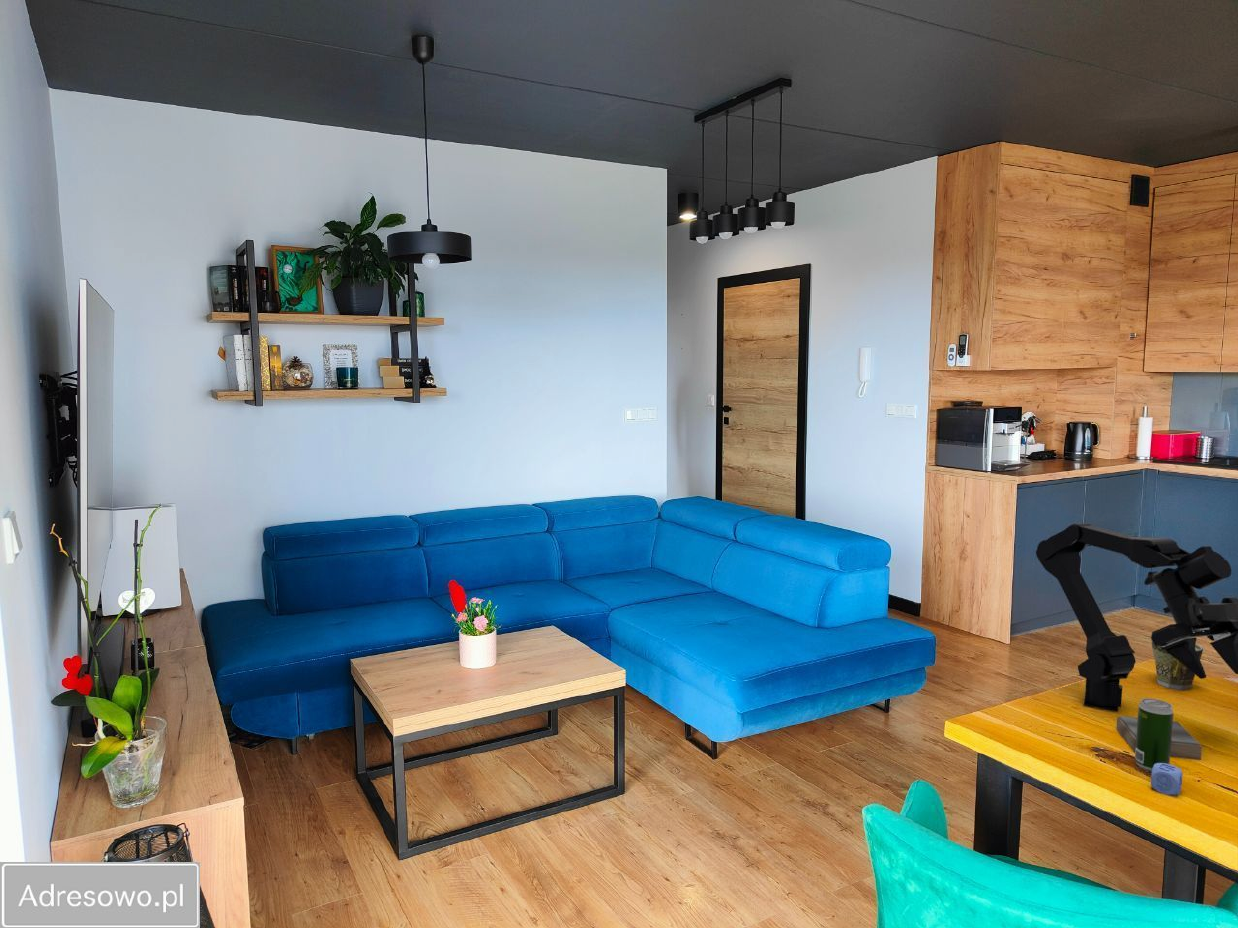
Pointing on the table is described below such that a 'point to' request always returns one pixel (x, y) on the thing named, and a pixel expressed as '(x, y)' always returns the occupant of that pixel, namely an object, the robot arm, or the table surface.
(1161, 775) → the decorative dice
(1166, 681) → the ceramic cup
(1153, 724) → the beer can
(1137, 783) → the table surface
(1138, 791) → the table surface
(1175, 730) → the gray plinth
